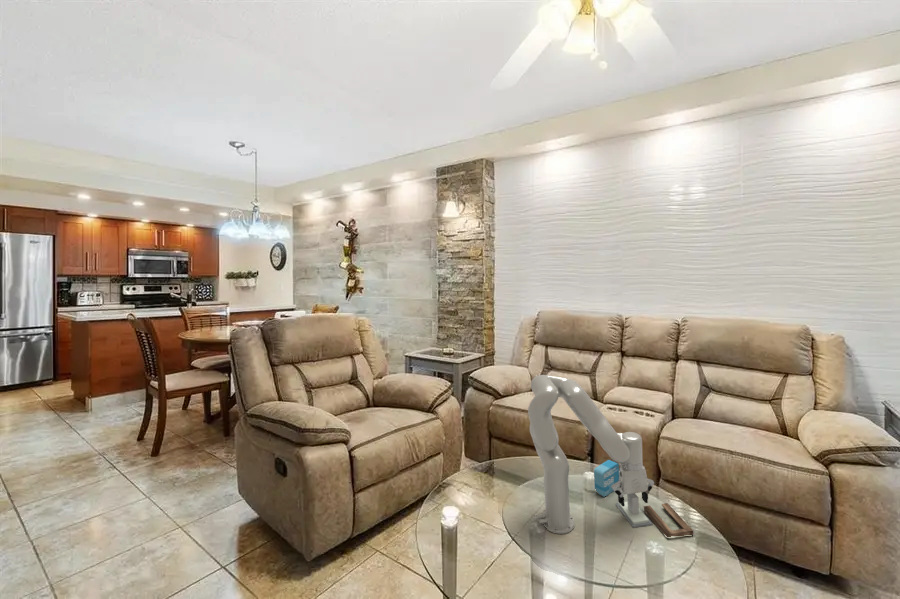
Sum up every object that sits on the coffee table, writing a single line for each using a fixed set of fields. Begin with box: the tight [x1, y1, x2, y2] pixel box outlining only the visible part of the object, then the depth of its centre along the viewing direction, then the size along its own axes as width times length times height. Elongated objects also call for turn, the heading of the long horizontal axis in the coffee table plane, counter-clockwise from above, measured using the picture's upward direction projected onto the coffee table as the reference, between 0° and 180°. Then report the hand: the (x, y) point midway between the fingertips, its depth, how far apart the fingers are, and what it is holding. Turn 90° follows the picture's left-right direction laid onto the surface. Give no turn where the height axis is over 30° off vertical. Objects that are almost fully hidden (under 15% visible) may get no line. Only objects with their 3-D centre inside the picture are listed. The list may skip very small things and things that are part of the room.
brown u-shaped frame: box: [643, 502, 694, 537], centre depth 159 cm, size 10×16×2 cm, turn 4°
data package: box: [593, 459, 620, 498], centre depth 181 cm, size 12×4×12 cm, turn 124°
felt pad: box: [615, 502, 654, 529], centre depth 165 cm, size 8×14×1 cm, turn 4°
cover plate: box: [618, 493, 650, 524], centre depth 165 cm, size 6×12×8 cm, turn 4°
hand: (633, 502), depth 165 cm, fingers open, 9 cm apart
